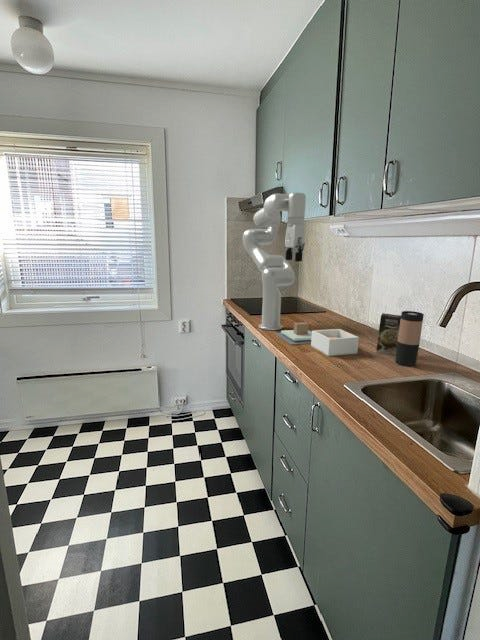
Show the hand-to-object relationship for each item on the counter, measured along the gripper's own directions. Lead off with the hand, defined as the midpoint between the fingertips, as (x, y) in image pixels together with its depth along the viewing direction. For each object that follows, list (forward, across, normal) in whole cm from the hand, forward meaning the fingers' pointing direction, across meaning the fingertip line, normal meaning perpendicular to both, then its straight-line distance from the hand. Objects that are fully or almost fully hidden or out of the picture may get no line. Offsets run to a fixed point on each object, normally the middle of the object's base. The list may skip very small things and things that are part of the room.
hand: (293, 260), depth 158 cm
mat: (+36, +4, +4) cm, 37 cm away
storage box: (+36, +23, +10) cm, 44 cm away
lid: (+35, +4, +4) cm, 35 cm away
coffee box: (+36, +32, +31) cm, 58 cm away
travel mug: (+36, +45, +28) cm, 64 cm away
